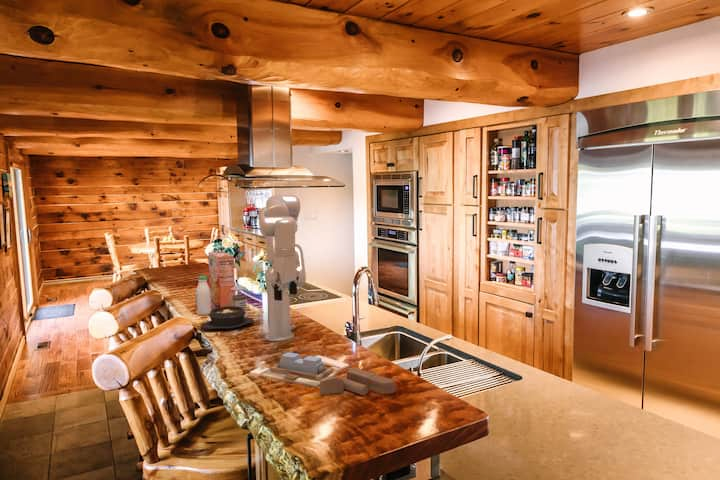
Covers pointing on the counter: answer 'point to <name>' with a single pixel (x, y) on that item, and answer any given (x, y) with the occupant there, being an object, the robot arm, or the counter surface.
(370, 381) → the wooden block set
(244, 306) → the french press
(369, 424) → the counter surface
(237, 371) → the counter surface
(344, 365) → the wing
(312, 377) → the jig
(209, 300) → the milk bottle
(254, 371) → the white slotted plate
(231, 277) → the pasta box
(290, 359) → the notched grey stepped bar
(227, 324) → the casserole
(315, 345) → the counter surface
